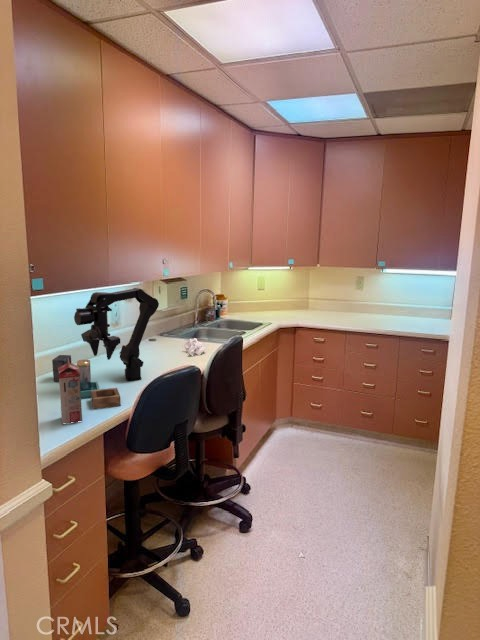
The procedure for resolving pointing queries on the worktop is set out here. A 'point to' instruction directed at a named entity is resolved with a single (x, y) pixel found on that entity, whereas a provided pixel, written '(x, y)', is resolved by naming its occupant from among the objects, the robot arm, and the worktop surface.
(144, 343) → the worktop surface
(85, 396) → the teal tray
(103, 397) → the brown square frame
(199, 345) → the white coral
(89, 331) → the robot arm
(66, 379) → the juice carton
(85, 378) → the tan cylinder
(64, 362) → the box
